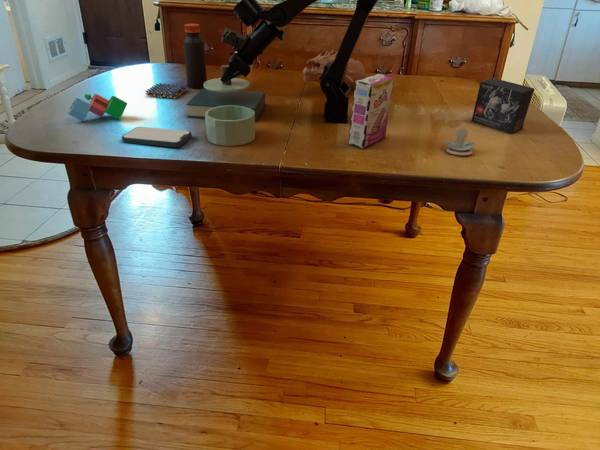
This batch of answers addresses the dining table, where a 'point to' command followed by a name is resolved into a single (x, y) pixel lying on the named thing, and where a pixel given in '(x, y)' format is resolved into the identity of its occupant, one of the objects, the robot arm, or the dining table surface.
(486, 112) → the small box
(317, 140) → the dining table surface
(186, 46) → the bottle
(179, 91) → the woven mat
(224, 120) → the dish
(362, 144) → the candy bar box
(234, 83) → the cover
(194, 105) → the book
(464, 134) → the pacifier
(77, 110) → the building blocks
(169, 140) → the smartphone
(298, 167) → the dining table surface
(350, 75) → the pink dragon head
